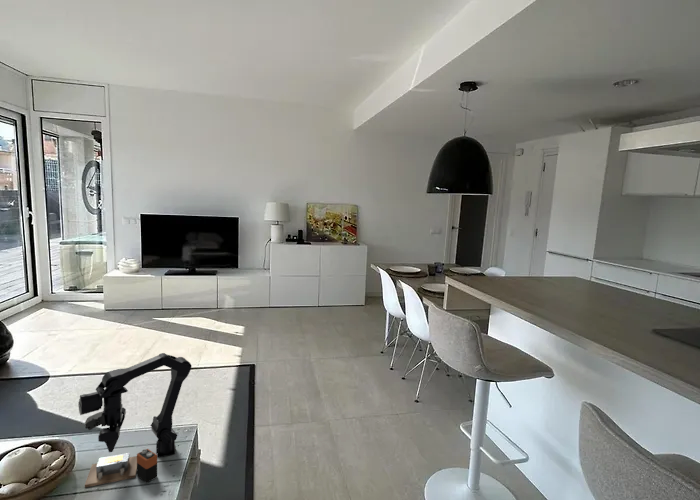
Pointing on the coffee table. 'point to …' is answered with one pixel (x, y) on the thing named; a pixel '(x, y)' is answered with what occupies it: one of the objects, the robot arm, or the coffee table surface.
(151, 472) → the battery
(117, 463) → the block
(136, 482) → the coffee table surface
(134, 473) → the brown board with pegs
